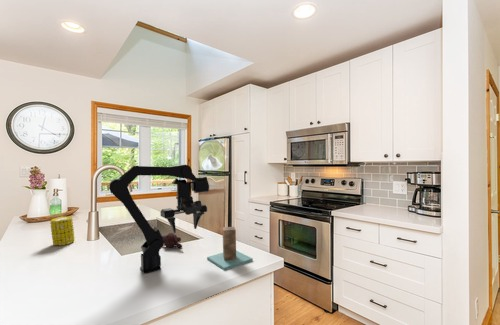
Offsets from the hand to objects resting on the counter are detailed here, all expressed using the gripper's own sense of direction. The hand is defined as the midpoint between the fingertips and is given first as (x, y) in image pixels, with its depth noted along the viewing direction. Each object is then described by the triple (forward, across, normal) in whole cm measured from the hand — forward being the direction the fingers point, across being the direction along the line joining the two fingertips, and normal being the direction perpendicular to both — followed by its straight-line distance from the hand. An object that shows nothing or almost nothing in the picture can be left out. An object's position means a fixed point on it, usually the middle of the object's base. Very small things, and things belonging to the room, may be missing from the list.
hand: (185, 230), depth 108 cm
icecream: (+13, +2, +23) cm, 26 cm away
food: (+13, -41, +65) cm, 78 cm away
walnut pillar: (+12, +15, -11) cm, 22 cm away
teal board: (+13, +15, -11) cm, 23 cm away
